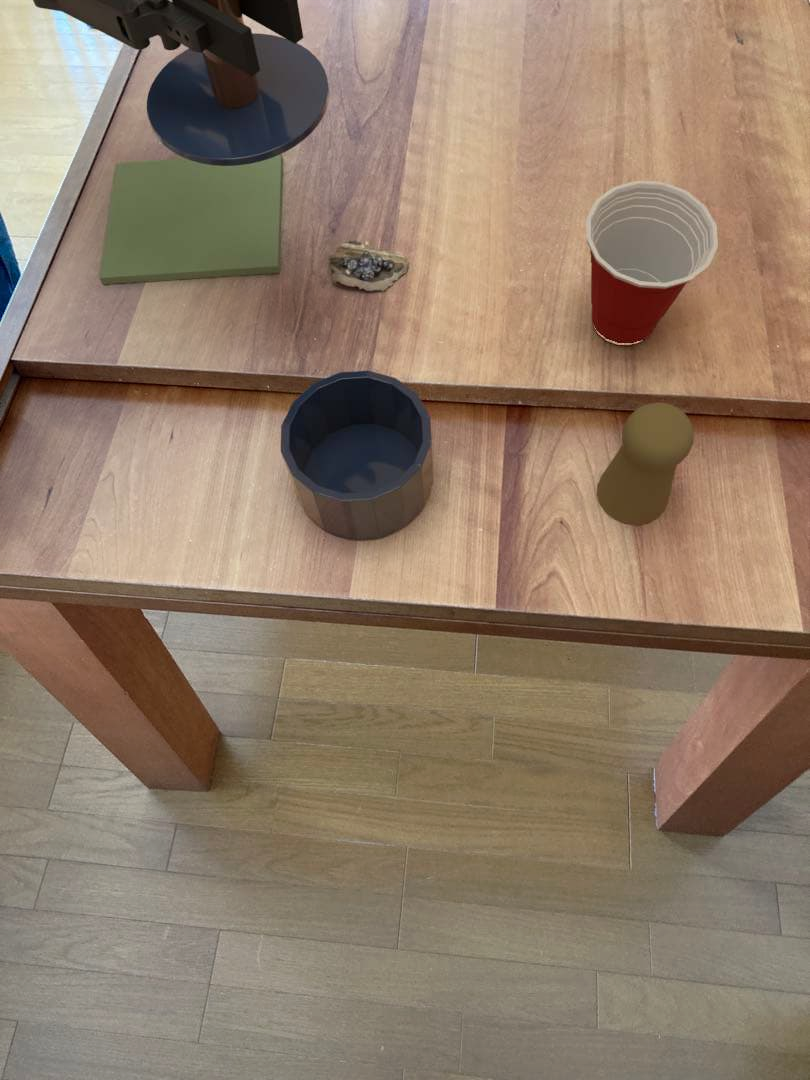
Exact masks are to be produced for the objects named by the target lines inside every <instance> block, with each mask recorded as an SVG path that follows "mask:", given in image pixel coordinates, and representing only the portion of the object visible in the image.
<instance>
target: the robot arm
mask: <svg viewBox="0 0 810 1080" xmlns="http://www.w3.org/2000/svg"><path fill="white" fill-rule="evenodd" d="M32 2H33V3H34V6H35V7H36V8H39V9H43V10H44V9H45V10H51V11H57V12H62V13H64V14H66V15H67V16H70V17H72V18H74V19H76V20H78V21H79V22H82V23H84V24H86V25H87V26H89V27H91V28H93V29H95V30H96V31H99V32H100V33H103V34H105V35H107V36H109V37H110V38H112V39H114V40H117V41H119V42H121V43H122V44H124V45H127V46H128V47H130V48H132V49H134V50H136V51H137V50H139V51H141V50H144V49H147V48H149V46H150V45H151V40H150V39H151V38H153V37H156V36H158V37H159V38H160V40H161V43H162V46H163V49H164V50H165V51H176V50H178V49H179V48H180V47H181V45H182V46H184V47H186V48H187V49H191V50H192V51H195V52H200V53H202V52H203V51H204V50H208V51H209V52H211V53H213V54H214V55H216V56H218V57H219V58H221V59H223V60H224V61H226V62H228V63H229V64H231V65H233V66H234V67H236V68H238V69H239V70H241V71H243V72H244V73H246V74H248V75H249V76H251V77H252V76H253V75H255V74H256V73H257V72H259V71H260V67H259V63H258V58H257V54H256V49H255V45H254V40H253V36H252V33H253V31H252V27H250V26H247V24H245V23H244V24H245V25H244V24H243V23H241V22H239V21H237V20H236V19H234V18H232V17H230V16H229V15H227V14H225V13H223V12H222V11H220V10H218V9H216V8H215V7H213V6H211V5H210V4H208V3H206V2H204V1H203V0H32ZM239 3H240V7H241V11H242V16H245V17H247V18H248V19H250V20H252V21H254V22H256V23H258V24H260V25H261V26H263V27H265V28H266V29H268V30H270V31H271V32H273V33H275V34H277V35H278V36H279V37H282V38H285V39H287V40H289V41H291V42H293V43H295V44H296V43H297V44H298V42H300V41H301V40H303V39H304V31H303V26H302V21H301V15H300V9H299V2H298V0H239Z"/></svg>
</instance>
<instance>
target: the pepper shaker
mask: <svg viewBox="0 0 810 1080" xmlns="http://www.w3.org/2000/svg"><path fill="white" fill-rule="evenodd" d="M694 434H695V429H694V427H693V424H692V421H691V419H690V418H689V417H688V416H687V414H686V413H685V412H684V411H683V410H682V409H680V408H678V407H677V406H675V405H673V404H670V403H666V402H652V403H647V404H644V405H642V406H640V407H638V408H636V409H635V410H634V411H633V412H632V413H631V414H630V415H629V416H628V417H627V419H626V421H625V423H624V425H623V428H622V433H621V443H622V445H621V446H620V448H619V449H618V450H617V452H616V454H615V455H614V457H613V458H612V459H611V461H610V463H609V464H608V465H607V467H606V468H605V470H604V471H603V473H602V475H601V476H600V478H599V480H598V482H597V487H596V496H597V499H598V503H599V505H600V506H601V509H603V511H604V513H606V514H607V515H608V516H609V517H611V518H612V519H613V520H614V521H617V522H619V523H622V524H624V525H631V526H632V525H633V526H640V525H646V524H649V523H652V522H653V521H656V520H657V519H658V518H659V517H660V516H661V515H662V514H664V512H665V511H666V507H667V505H668V503H669V498H670V494H671V490H672V486H673V482H674V478H675V474H676V470H677V466H678V465H680V464H681V463H682V462H683V461H684V460H685V459H686V458H687V457H688V456H689V454H690V452H691V450H692V447H693V445H694V439H695V436H694Z"/></svg>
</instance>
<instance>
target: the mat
mask: <svg viewBox="0 0 810 1080" xmlns="http://www.w3.org/2000/svg"><path fill="white" fill-rule="evenodd" d="M283 167H284V157H283V153H282V154H280V155H277V156H275V157H273V158H270V159H267V160H264V161H260V162H256V163H251V164H245V165H238V166H215V165H208V164H201V163H198V162H194V161H191V160H188V159H186V158H183V157H182V158H172V159H171V158H170V159H155V160H142V161H141V160H140V161H126V162H116V163H115V166H114V173H113V180H112V187H111V193H110V194H111V195H110V200H109V201H110V202H109V207H108V208H109V210H108V214H107V216H108V217H107V221H106V228H105V235H104V242H103V249H102V256H101V261H100V262H101V263H100V269H99V276H98V278H99V280H100V282H101V284H102V285H115V284H118V285H119V284H129V283H130V284H131V283H133V284H134V283H145V282H146V283H147V282H160V281H161V282H162V281H163V282H164V281H178V280H192V279H194V280H195V279H207V278H209V279H210V278H221V277H222V278H223V277H239V276H240V277H241V276H253V275H267V274H268V275H269V274H279V273H281V247H282V245H281V244H282V242H281V241H282V211H283V210H282V207H283V206H282V203H283V174H284V171H283V170H284V168H283Z"/></svg>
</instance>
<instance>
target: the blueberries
mask: <svg viewBox="0 0 810 1080" xmlns="http://www.w3.org/2000/svg"><path fill="white" fill-rule="evenodd" d="M369 243H370V242H369V241H368V240H365V242H364V243H362V241H357V240H350V239H349V240H348V241H346V242H343V243H342V244H341V245H339V246H338V247H337V249H336V250H335V251H334V253H331V254H329V255H328V260H329V261H330V263H328V266H329V268H330V269H332V270H333V271H334V272H333V273H332V274H331V275H330V276H331V277H330V280H333V281H332V282H333V283H337V282H339V283H340V284H341V285H344V286H346V287H353V288H354V287H357V288H359V290H362V289H364V290H365V291H367V292H373V291H381V292H385V291H386V290H387V289H388V288H389V287H393V284H394V281H398V280H399V278H401V277H402V276H403V275H405V274H406V273H407V272H408V269H409V262H408V261H407V258H406V256H404V255H403V254H402V253H401V252H399V251H396V252H395V251H394V250H393V251H391V250H388V249H385V250H378V249H377V248H378V247H379V246H380V244H377V245H375V246H373V245H370V244H369Z"/></svg>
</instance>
